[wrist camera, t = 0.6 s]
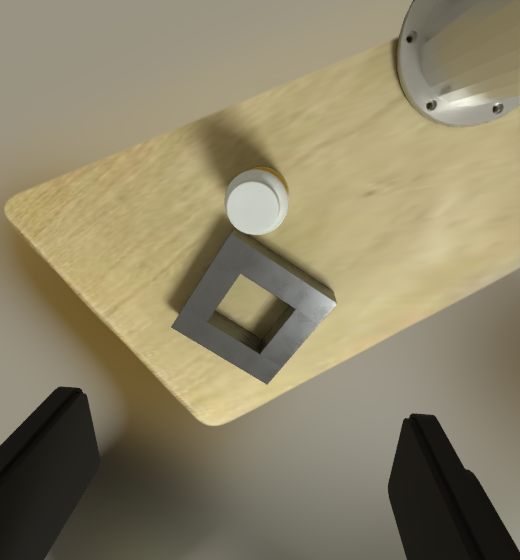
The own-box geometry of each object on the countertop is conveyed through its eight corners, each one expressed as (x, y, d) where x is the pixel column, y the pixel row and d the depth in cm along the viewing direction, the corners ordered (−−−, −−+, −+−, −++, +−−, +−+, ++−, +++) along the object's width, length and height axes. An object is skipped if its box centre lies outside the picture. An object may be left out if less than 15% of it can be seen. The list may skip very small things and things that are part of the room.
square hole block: (235, 226, 35) (230, 233, 32) (333, 291, 37) (337, 303, 34) (179, 314, 40) (171, 327, 37) (268, 368, 41) (267, 384, 39)
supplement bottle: (288, 219, 34) (287, 244, 25) (237, 219, 35) (219, 244, 26) (289, 165, 32) (288, 171, 23) (235, 165, 33) (214, 172, 24)
